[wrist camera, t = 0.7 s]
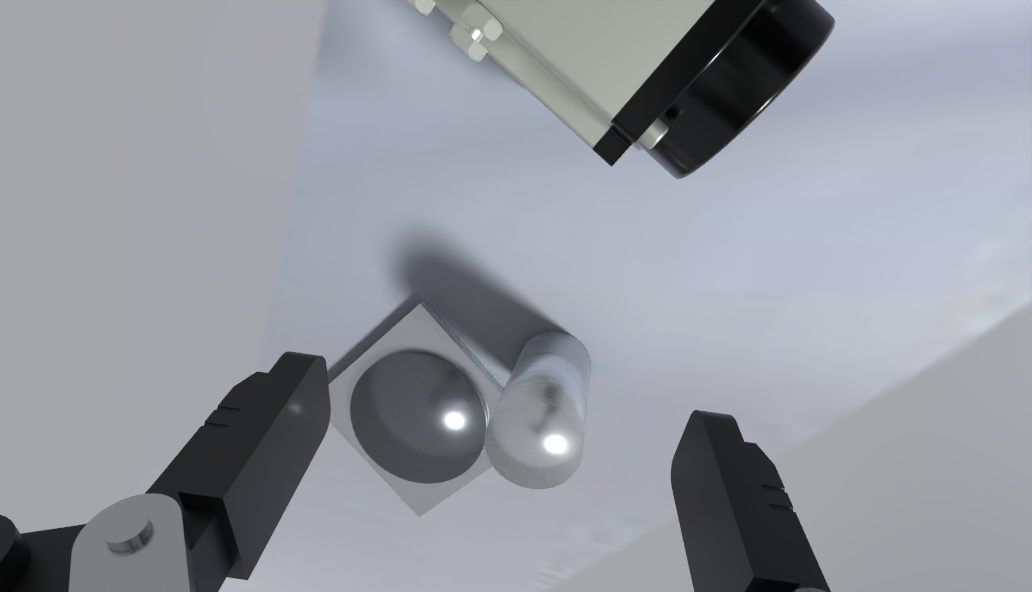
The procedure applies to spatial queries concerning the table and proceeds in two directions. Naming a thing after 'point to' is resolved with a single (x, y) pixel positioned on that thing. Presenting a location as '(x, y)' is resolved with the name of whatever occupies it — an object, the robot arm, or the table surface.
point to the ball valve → (645, 65)
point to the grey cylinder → (542, 413)
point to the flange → (417, 409)
